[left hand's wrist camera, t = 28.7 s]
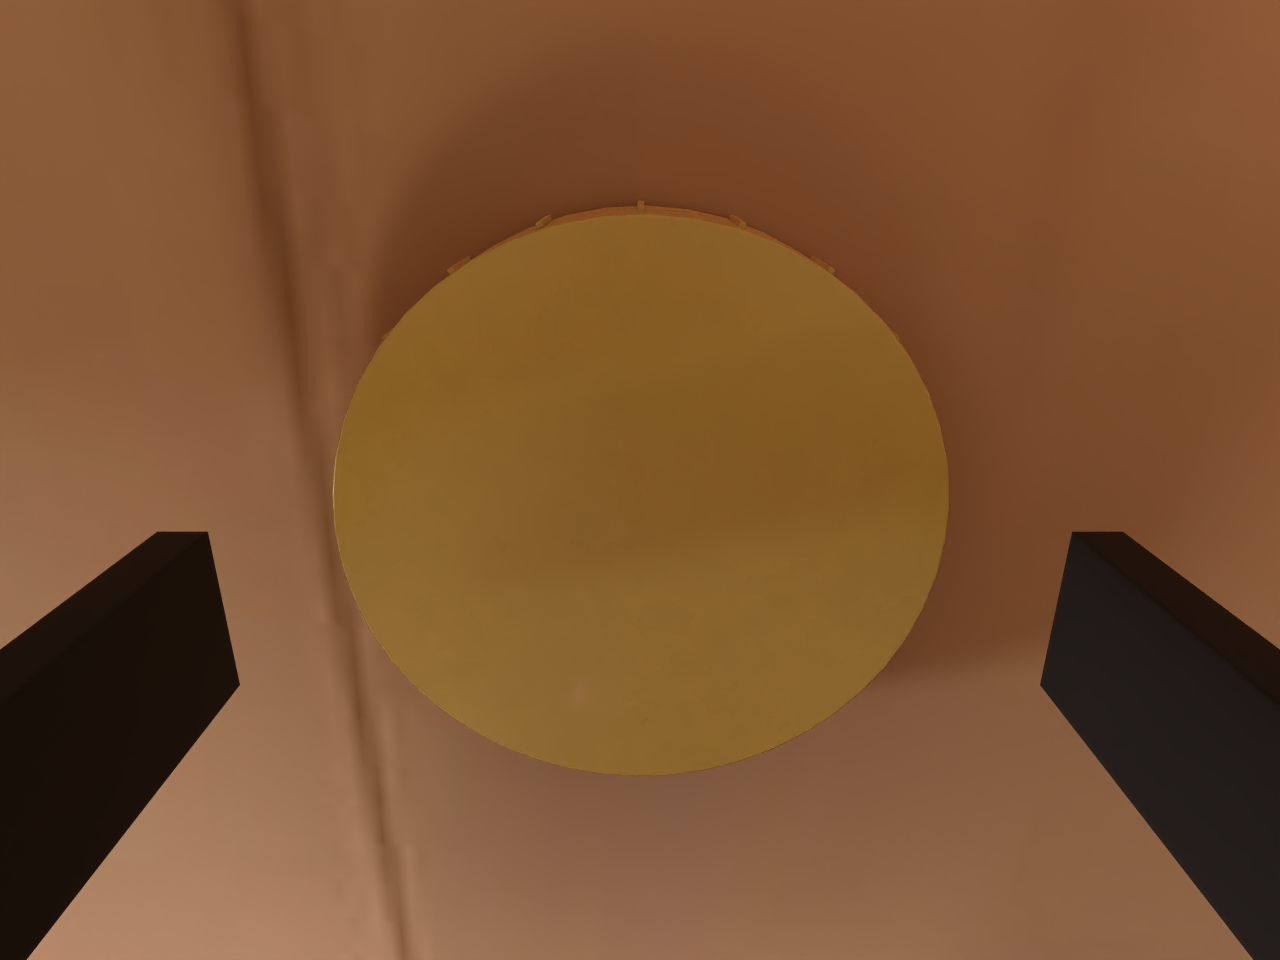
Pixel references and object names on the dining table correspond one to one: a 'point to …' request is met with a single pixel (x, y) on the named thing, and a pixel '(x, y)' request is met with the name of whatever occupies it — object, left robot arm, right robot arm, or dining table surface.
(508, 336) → the lid
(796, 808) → the dining table surface
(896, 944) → the dining table surface
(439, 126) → the dining table surface
